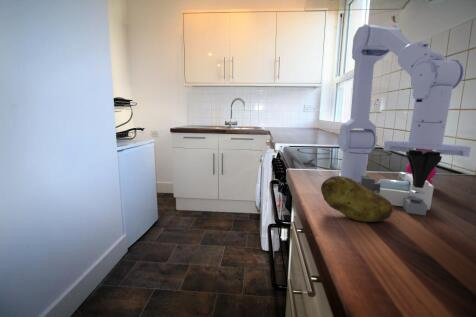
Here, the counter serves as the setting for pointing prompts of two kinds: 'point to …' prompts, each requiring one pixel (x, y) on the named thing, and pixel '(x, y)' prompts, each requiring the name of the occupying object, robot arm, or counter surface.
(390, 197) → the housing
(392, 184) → the cartridge
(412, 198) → the plunger right
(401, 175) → the plunger left
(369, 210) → the potato
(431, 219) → the counter surface
